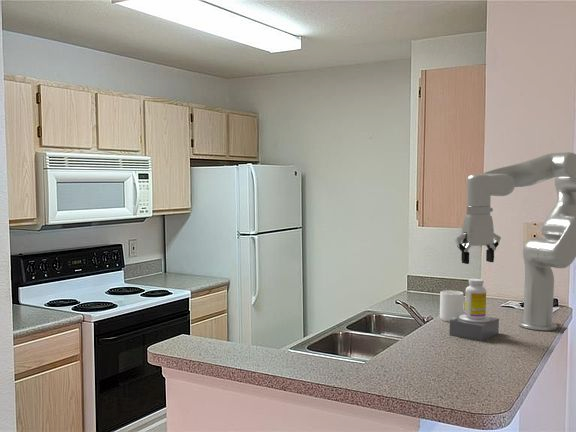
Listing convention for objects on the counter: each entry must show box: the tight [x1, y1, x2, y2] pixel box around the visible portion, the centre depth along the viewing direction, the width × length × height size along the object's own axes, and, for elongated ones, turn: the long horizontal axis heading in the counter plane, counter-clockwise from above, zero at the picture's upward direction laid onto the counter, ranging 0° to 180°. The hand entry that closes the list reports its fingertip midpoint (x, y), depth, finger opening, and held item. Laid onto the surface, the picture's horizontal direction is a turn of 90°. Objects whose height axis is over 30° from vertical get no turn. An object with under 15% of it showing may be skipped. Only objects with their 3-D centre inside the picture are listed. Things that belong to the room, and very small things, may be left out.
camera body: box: [449, 313, 500, 342], centre depth 196 cm, size 14×11×6 cm
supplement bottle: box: [464, 278, 487, 319], centre depth 195 cm, size 7×7×13 cm
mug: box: [439, 290, 465, 323], centre depth 217 cm, size 12×8×10 cm
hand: (477, 262), depth 195 cm, fingers open, 9 cm apart
